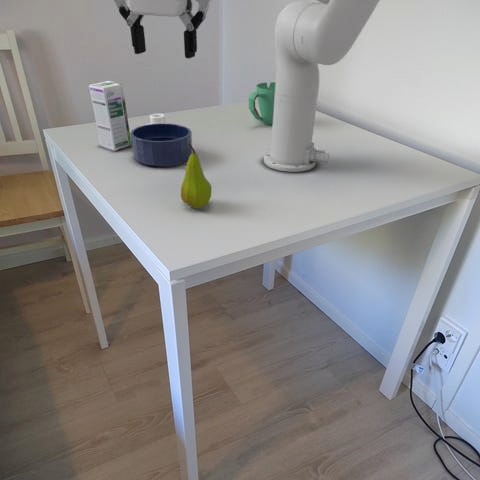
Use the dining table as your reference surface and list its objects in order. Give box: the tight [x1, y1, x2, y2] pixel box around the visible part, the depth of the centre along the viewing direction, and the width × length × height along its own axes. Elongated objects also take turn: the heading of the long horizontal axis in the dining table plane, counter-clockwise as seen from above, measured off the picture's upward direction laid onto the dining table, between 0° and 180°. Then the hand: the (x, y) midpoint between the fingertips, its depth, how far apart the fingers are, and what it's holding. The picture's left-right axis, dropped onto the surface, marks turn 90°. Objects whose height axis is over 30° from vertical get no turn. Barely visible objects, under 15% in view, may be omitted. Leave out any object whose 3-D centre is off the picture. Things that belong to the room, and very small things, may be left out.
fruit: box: [180, 144, 212, 210], centre depth 81 cm, size 6×6×12 cm
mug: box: [248, 81, 276, 126], centre depth 125 cm, size 15×10×10 cm
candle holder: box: [145, 113, 171, 125], centre depth 119 cm, size 12×12×4 cm
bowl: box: [130, 122, 193, 167], centre depth 103 cm, size 14×14×6 cm
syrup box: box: [88, 80, 132, 152], centre depth 106 cm, size 6×6×14 cm
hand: (165, 55), depth 76 cm, fingers open, 9 cm apart
